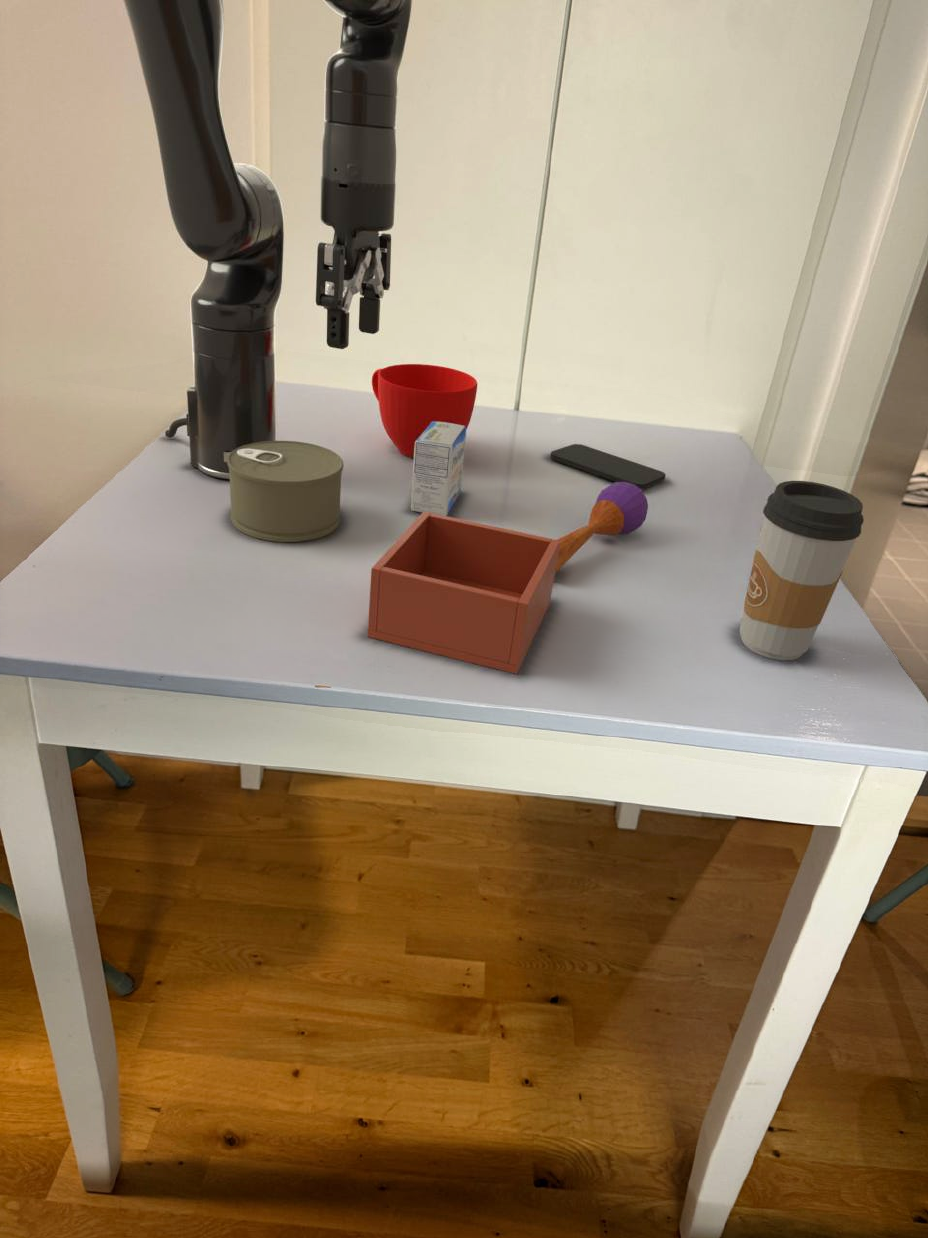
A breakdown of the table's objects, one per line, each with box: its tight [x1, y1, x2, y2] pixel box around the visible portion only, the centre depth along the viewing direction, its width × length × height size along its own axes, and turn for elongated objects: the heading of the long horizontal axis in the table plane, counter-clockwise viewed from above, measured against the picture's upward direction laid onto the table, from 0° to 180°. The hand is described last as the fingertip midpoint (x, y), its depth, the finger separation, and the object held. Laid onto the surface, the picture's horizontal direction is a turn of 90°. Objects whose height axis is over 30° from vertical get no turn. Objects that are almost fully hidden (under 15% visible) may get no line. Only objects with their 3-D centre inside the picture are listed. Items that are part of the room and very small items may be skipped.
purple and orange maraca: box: [555, 481, 649, 574], centre depth 98 cm, size 6×6×20 cm
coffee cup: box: [739, 480, 865, 661], centre depth 81 cm, size 8×8×15 cm
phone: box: [549, 443, 666, 490], centre depth 122 cm, size 7×1×15 cm
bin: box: [367, 511, 560, 675], centre depth 81 cm, size 14×14×7 cm
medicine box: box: [410, 422, 467, 516], centre depth 104 cm, size 8×4×9 cm, turn 168°
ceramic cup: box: [371, 363, 478, 459], centre depth 120 cm, size 13×17×10 cm
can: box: [227, 440, 344, 543], centre depth 96 cm, size 12×12×7 cm
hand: (353, 339), depth 98 cm, fingers open, 8 cm apart
